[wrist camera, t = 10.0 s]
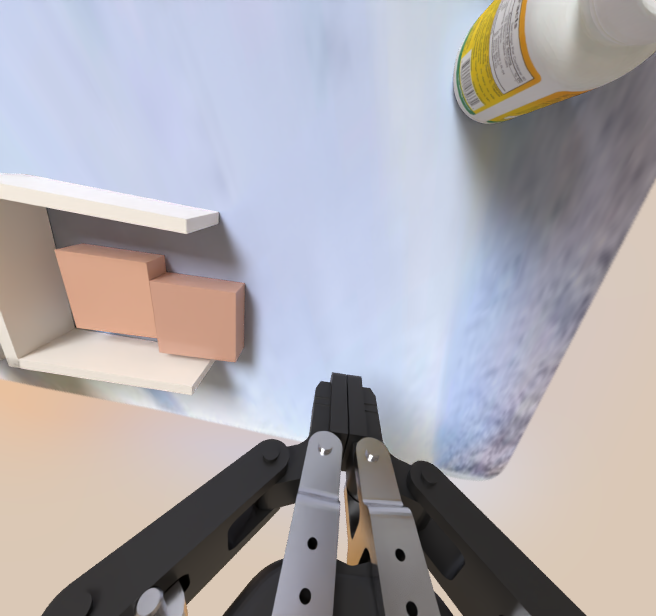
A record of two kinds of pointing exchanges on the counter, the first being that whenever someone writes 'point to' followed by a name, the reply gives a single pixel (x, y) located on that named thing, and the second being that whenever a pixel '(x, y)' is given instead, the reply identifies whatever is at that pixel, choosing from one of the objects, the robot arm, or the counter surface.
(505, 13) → the supplement bottle
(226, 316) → the tile
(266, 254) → the counter surface
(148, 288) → the tile
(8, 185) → the white u-shaped bracket
